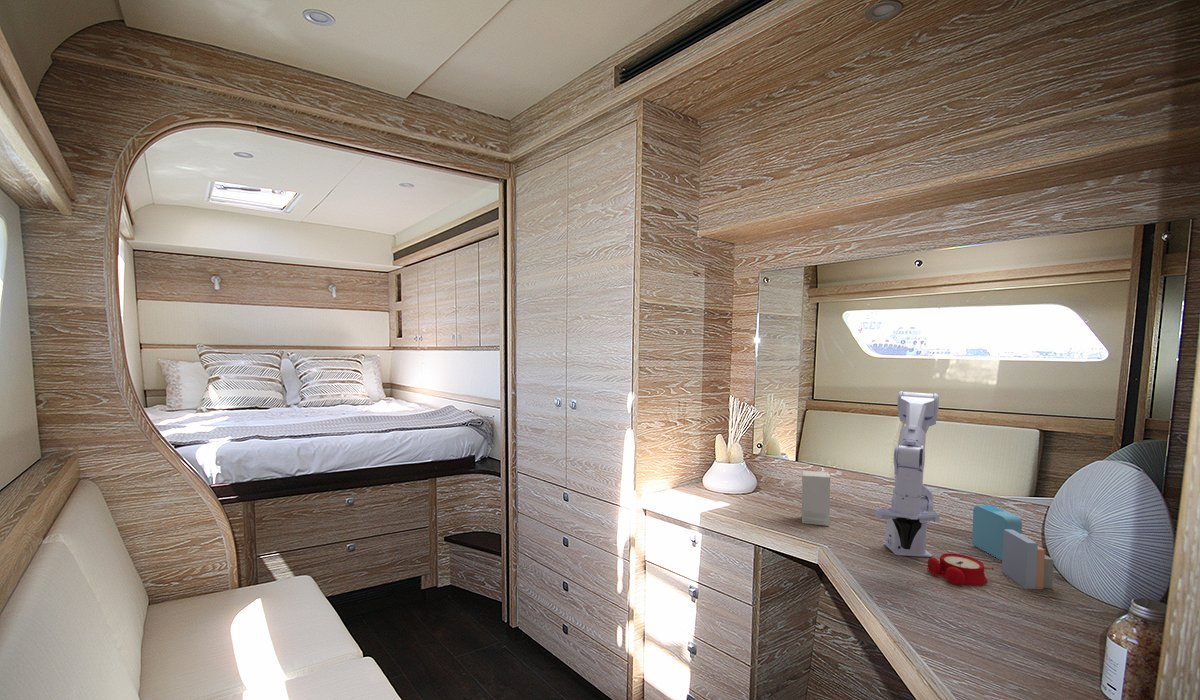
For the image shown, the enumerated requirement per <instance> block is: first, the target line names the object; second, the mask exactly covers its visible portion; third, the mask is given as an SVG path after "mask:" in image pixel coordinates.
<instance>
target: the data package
mask: <svg viewBox="0 0 1200 700" xmlns="http://www.w3.org/2000/svg"><path fill="white" fill-rule="evenodd" d="M971 529H972V531H971V532H972V533H971V541H972V544H973V546H974V545H975V546H976V547H975V546H974V547H975V548H977V547H978V548H977V549H979V548H980V549H979V550H981V549H982V550H984V551H986V552H987V554H988V553H989V554H988V555H990V554H991V555H990V556H992V557H993V556H994V557H993V558H995V557H996V558H995V559H997V560H1000V561H1001V560H1002V556H1003V535H1004V529H1010V530H1015V531H1016V532H1018V533H1020V534H1022V531H1023V522H1022V519H1021V518H1020V517H1019V516H1018V515H1015V514H1014V513H1011V512H1009V511H1006V510H1004V509H1001V508H999V507H997V506H994V505H992V504H975V505H974V506H973V510H972V528H971ZM1022 535H1023V534H1022ZM982 550H981V551H982ZM984 551H983V552H984ZM986 552H985V553H986Z"/></svg>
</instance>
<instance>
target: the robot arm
mask: <svg viewBox="0 0 1200 700" xmlns="http://www.w3.org/2000/svg"><path fill="white" fill-rule="evenodd" d="M939 396H940V395H939V394H938V393H936V392H935V393H929V392H927V393H926V392H925V393H924V392H912V391H903V390H900V391H899V392H898V394H897V405H896V406H897V412H898V413H897V414H898V418H899V421H900V422H902V423H903V424H905V426H903V427H902V428H900V431H899V437H898V442H897V446H895V447H894V450H893V467H894V471H893V472H894V475H895V479H894V488H893V491H892V496H891V503H890V505H891V507H888V508H874V517H875V518H877V519H878V520H879V519H880V520H882V519H887V520H886V524H885V540H884V541H885V542H884V543H883V544H884V545H885V547H887V548H888V549H889V550H890V551H891V552H892V553H893V554H894V555H895V556H904V557H906V556H907V557H923V558H924V557H925V558H933V555H932V554H931V553H930V552H929V551H928V550H927V534H928V533H927V531H928V529H927V528H928V522H931V521H932V522H934V523H940V517H941V516H940V515H941V514H940V513H938V512H936V511H934V505H935V504H934V494H933V492H932V491H931V489H929V488H928V487H926V486H925V485H924V482H923V481H924V470H925V469H924V468H925V462H926V438H927V437H926V436H927V432H928V430H929V429H930V428H929V427H932V426H935V425H936V424H937V421H938V414H939V403H940V400H939V399H940V398H939Z"/></svg>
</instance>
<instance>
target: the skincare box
mask: <svg viewBox="0 0 1200 700" xmlns="http://www.w3.org/2000/svg"><path fill="white" fill-rule="evenodd" d="M801 472H802V473H801V522H802V524H804V523H805V524H807V525H816V526H825V527H830V522H831V521H830V518H831V515H830V514H831V512H830V511H831V508H830V505H831V504H830V503H831V497H830V495H831V475H830V473H829V472H828V471H814V470H801Z"/></svg>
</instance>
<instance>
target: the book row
mask: <svg viewBox="0 0 1200 700" xmlns="http://www.w3.org/2000/svg"><path fill="white" fill-rule="evenodd" d="M1001 573H1003V574H1004V575H1005V576H1007V577H1008V578H1010V579H1011V580H1013V581H1014V582H1015V583H1017V584H1018V585H1020V586H1021V587H1023V588H1024V589H1027V590H1044V589H1053V577H1054V574H1053V573H1054V558H1052V557H1050V556H1048V555H1046V549H1045V548H1042V547H1041V546H1039V543H1038V542H1035V541H1034V540H1032V539H1030V538H1029V537H1027V536H1025V535H1024V534H1020V533H1018V532H1016V531H1015V530H1010V529H1004V535H1003V556H1002V561H1001Z"/></svg>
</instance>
